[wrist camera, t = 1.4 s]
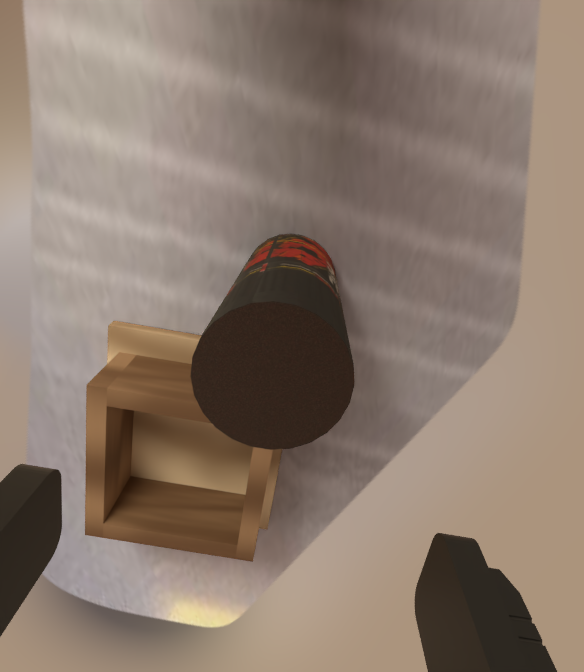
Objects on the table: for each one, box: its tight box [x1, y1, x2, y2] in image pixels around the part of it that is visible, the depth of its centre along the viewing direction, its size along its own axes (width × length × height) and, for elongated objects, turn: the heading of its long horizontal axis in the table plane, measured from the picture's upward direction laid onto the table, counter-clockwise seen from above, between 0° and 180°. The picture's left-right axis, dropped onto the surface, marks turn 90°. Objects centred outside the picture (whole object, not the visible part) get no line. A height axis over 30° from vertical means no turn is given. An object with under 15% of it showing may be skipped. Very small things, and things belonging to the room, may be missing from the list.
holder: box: [85, 321, 282, 562], centre depth 33 cm, size 15×13×6 cm
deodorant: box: [191, 234, 354, 450], centre depth 24 cm, size 6×6×15 cm
